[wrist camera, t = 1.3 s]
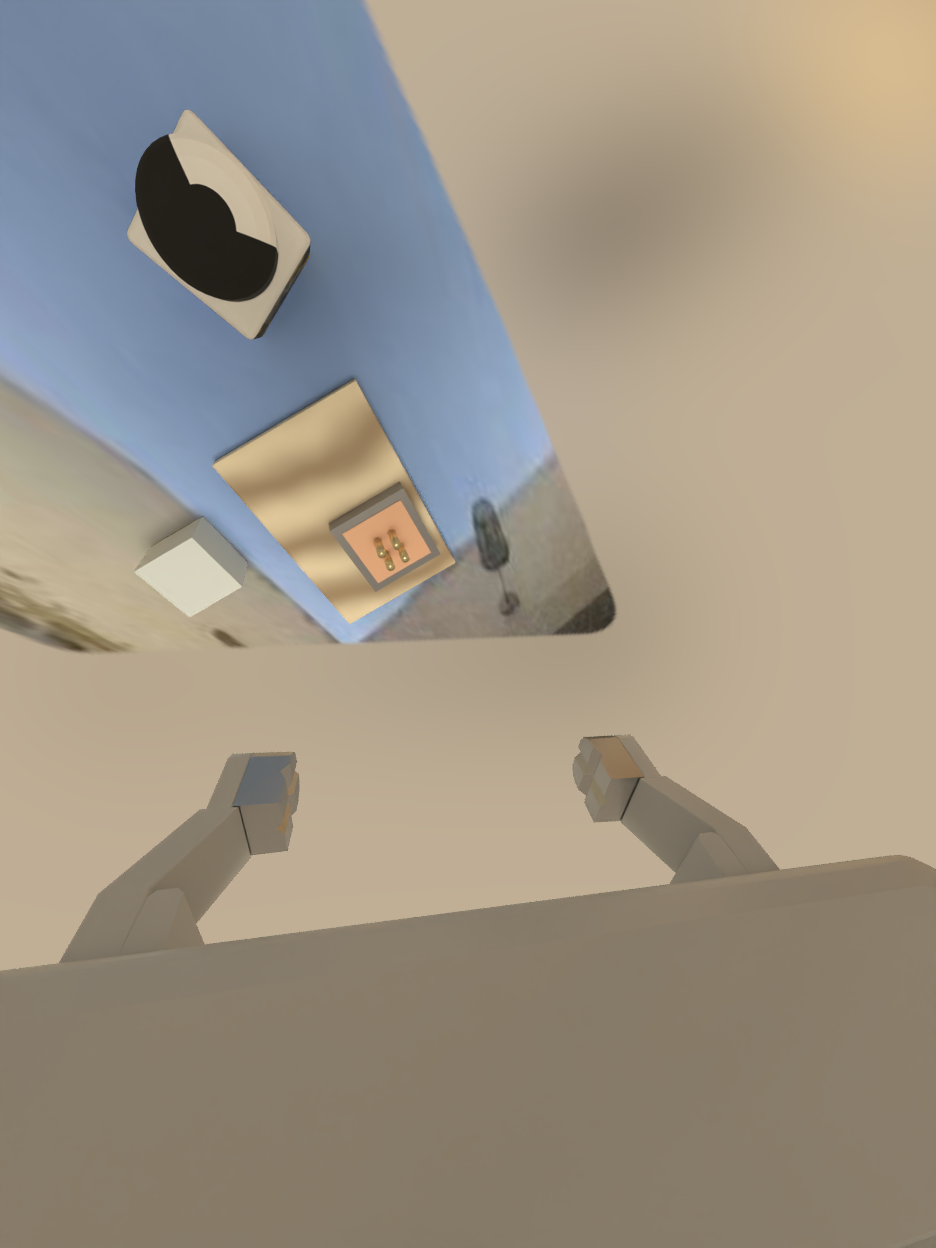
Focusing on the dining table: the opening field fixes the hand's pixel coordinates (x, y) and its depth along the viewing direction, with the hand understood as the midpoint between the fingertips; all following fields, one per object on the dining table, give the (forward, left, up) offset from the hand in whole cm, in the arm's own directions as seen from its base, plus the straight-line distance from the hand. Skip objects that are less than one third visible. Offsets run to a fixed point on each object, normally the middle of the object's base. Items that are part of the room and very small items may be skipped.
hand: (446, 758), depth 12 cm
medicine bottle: (-15, +1, -35) cm, 39 cm away
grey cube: (+1, -17, -35) cm, 39 cm away
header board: (+5, -3, -35) cm, 36 cm away
